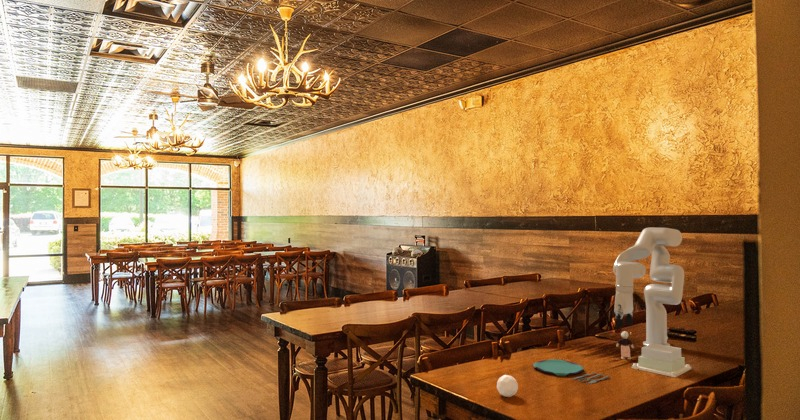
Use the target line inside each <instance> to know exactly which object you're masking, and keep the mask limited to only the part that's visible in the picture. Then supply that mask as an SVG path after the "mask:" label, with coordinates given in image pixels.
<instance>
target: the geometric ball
mask: <svg viewBox="0 0 800 420" xmlns="http://www.w3.org/2000/svg"><path fill="white" fill-rule="evenodd" d="M518 387H519V384H518V382H517V379H516V378H514V376H512V375H508V374H504V375H502V376H500V377H499V378H498V380H497V382H496V389H497V391H498V393H499V394H500V395H501V396H503V397H504V398H506V397H507V398H511V397H513V396H514V395H516V394H517V391H518V390H519V389H518Z"/></svg>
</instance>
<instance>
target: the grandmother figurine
mask: <svg viewBox="0 0 800 420" xmlns="http://www.w3.org/2000/svg"><path fill="white" fill-rule="evenodd" d="M620 336H621V339H619V340H618V341H617V343H616V345H615V346H616V347H617V348H618V347H619V346H620V345H621V346H620V355H621V357H620V358H621V359H622V360H631V359H632V357H631V349H634V348H635V346H634V344H633V342H632V341H631V340H630V339H628V338H629V332H628V331H625V330H624V331H622V332H621V333H620ZM630 347H631V349H630Z"/></svg>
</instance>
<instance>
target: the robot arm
mask: <svg viewBox="0 0 800 420" xmlns="http://www.w3.org/2000/svg"><path fill="white" fill-rule="evenodd" d="M682 241H683V234H682V233H681V231H680V230H679V229H676V228H669V227H652V226H651V227H645V228H643V229H642V231H641V232H640V234H639V236H638V237H637V240H636V241H635V244H634V245H633V246H630V247H629V248H627V249H626V250H623V251H622V252H621V253H619V255H618V256H617V258H616V259H615V261H614V264H613V267H612V271H613V274H614V275H615V295H614V306H613V307H614V309H613V310H614V311H613V312H614V315H615V327H616V328H620V329H623V328H624V324H625V325H627V326H633V320H634V319H633V318H634V317H633V316H634V315H633V314H634V309H635V308H634V297H633V294H634V279H641V278H643V277H644V276H645V275H646V272H647V271H646V269H647V268H646V266H645V265H644V264H643V263H640V262H635V261H638V260H643V259H646V258H648V257H650V256H651V261H650V267H649V278H650V280H651V281H653V282H658V283H650V284H647V285H646V286H645V287H644V289H643V295H644V301H645V310H646V311H645V313H646V314H645V316H646V317H645V320H646V323H645V329H646V330H645V334H646V335H645V339H646V340H645V341H642V344H643V346H647V345H650V344H652V343H655V344H660V345H666V346H671V344H670V343H669V342H667V341H668V339H669V337H668V326H667V325H668V320H667V319H668V318H667V317H668V314H667V309H666V307H665V305H672V306H673V305H675V306H677V305H680V304H681V302H682V299H683V292H684V283H685V271H684V268H683V267H682V266H681V265H680V264H673V263H672V264H670V259H671V255H670V253H669V251H668V249H667V248H666V246H667V247H678V246H680V245H681V244H682ZM660 283H666V284H660ZM668 283H669V284H668ZM663 304H664V305H663ZM623 317H624V318H625V319H623ZM624 320H625V323H624Z"/></svg>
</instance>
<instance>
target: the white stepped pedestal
mask: <svg viewBox="0 0 800 420" xmlns="http://www.w3.org/2000/svg"><path fill="white" fill-rule="evenodd" d="M637 358H638V359H637V363H632V365H631V369H635V370H638V369H639V371H643V372H649V373H653V374H657V375H662V376H667V377H672V378H677V377H679V376H681V375H683V374H685V373H687V372H688V371H691V370H692V366H691V364H687V363H686V362H685V357H683V356H682V348H681V347H676V346H672V345H670V346H666V345H660V344H655V343H652V344H650V345H647V346H645V345H643V347H641V355H639V356H638V357H637Z"/></svg>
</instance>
